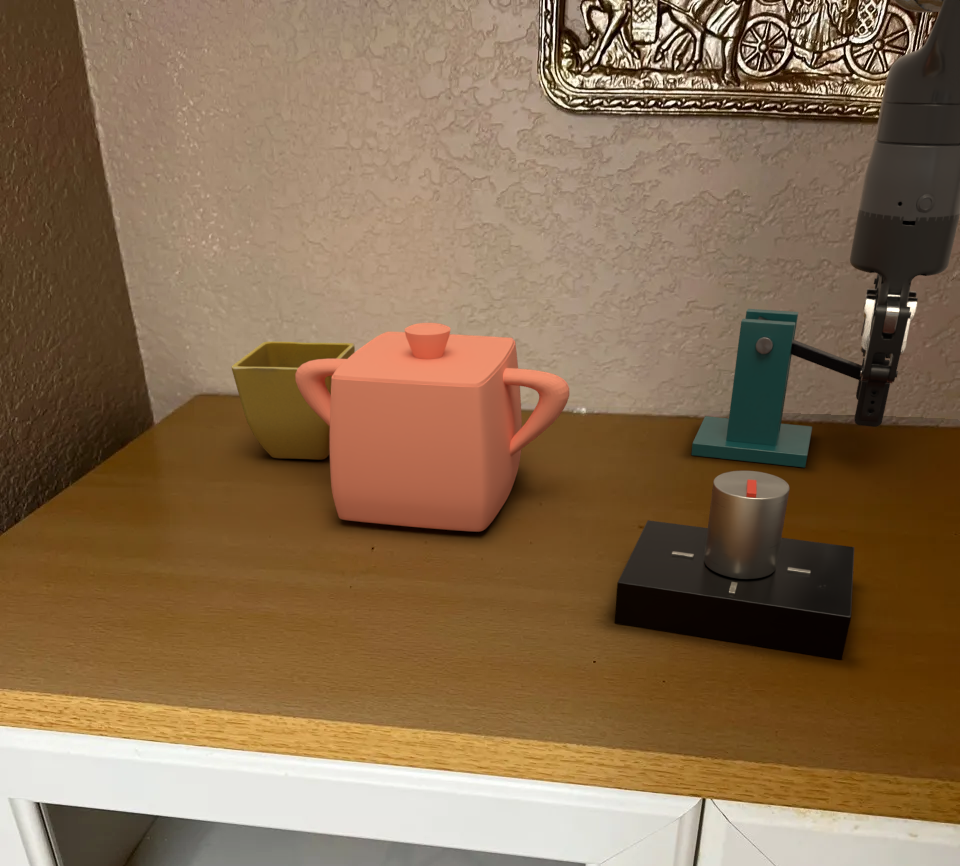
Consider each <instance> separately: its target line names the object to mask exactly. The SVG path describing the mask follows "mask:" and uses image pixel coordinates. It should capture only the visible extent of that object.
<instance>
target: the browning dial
mask: <svg viewBox="0 0 960 866" xmlns="http://www.w3.org/2000/svg"><path fill="white" fill-rule="evenodd" d="M711 490H712V491H711V499H710V507H709V514H708V515H709V516H708V523H707V528H708V530H707V538H706V546H705V554H704V562H705V564H706V566H707V567H708V568H709V569H711V570H712V571H714V572H716V573H718V574H721V575H724V576H727V577H732V578H738V579H757V578H762V577H766V576H768V575H770V574H772V573H773V572H774V571H775V570H776V567H777V561H778V555H779V549H780V543H781V538H783V537H782V536H783V532H784V531H783V530H784V524H785V517H786V512H787V507H788V500H789V493H790V485H789V483H788V482H787V481H786V480H784V479H783V478H782V477H779V476H777V475H774V474H770V473H767V472H762V471H756V470H755V471H754V470H733V471H726V472H723V473H721V474H719V475H716V476H715V478H714V479H713V482H712V489H711Z"/></svg>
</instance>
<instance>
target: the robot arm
mask: <svg viewBox="0 0 960 866" xmlns="http://www.w3.org/2000/svg"><path fill="white" fill-rule="evenodd" d="M893 1H894V2H895V3H896V4H897V5H898V6H899V7H900V8H902V9H904V10H906V11H910V12H913V13H938V15H937V17H936V20H935V22H934V24H933V27H932V29H931V31H930V32H929V36H928V37H927V39H926V42H925V43H924V44H923V46H922V47H920V48H918V49H917V50H914V51H912V52H908V53H906V54H904V55H901V56H900V57H899V58H898V59H896V60H895V61H894V62H893V63H892V65H891V66H890V68H889V71H888V72H887V76H886V80H885V84H884V89H883V92H882V98H881V103H880V108H879V114H878V120H877V125H876V131H875V136H874V140H875V141H874V142H873V147H872V149H871V154H870V157H869V159H868V164H867V166H866V171H865V174H864V178H863V184H862V189H861V190H862V191H861V194H860V195H861V196H860V201H859V207H858V211H857V217H856V223H855V228H854V234H853V239H852V246H851V251H850V257H849V262H850V265H851V266H852V267H853V268H854V269H855V270H858V271H860V272H864V273H868V274H876V277H875V278H874V280H873V285H874V288H867V287H866V291H865V297H864V303H863V313H862V316H863V321H862V326H861V333H860V336H861V342H860V348H859V349H860V352H861V353H862V354H861V355H862V361H861V365H862V366H863V368H862V370H861V373H860V376H862V377H861V381H860V380H858V383H857V387H856V392H855V398H856V400H857V403H856V409H855V413H854V423H855V424H856V426H863V427H871V428H877V427H879V426H881V425H882V423H883V419H884V415H885V411H886V406H887V400H888V396H889V391H890V387H891V384H893V383H894V382H895V381H896V380H895V379H896V378H898V374H899V371H898V366H899V362H900V358H901V356H902V355H903V354H904V352H905V350H906V348H907V344H908V343H907V342H908V337H909V331H910V326H911V321H912V320H913V319H914V317H915V316H916V312H917V307H918V301H919V299H918V297H917V294H918V292H917V290H911V285H912V281H913V280H914V279H915V277H918V276H921V277H929V276H935V275H939V274H942V273H943V272H944V271H946V269H947V268H948V267H949V264H950V259H951V257H952V251H953V247H954V242H955V238H956V234H957V229H958V225H959V221H960V0H893ZM875 362H881V363H883V364H884V365H875V364H873V363H875Z"/></svg>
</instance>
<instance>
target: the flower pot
mask: <svg viewBox="0 0 960 866" xmlns="http://www.w3.org/2000/svg"><path fill="white" fill-rule="evenodd" d="M355 347H356V346H355V344H354V343H352V342H298V341H264V342H261V343H260V344H259V345H257V346H256V347H255V348H254V349H252V350H251V351H250V352H248V353H247V354H246V355H244V356H243V357H241V358H240V359H239V360H238V361H236V362H235V363H233V365H231V367H230V368H231V372H232V376H233V379H234V382H235V385H236V389H237V393H238V396H239V400H240V403H241V408H242V410H243V414H244V417H245V420H246V422H247V424H248V427H249V429H250V431H251V433H252V434H253V436H254V438H255V439H256V441H257V442H258V443H259V444H260V446H261V447H262V448H263V449H264V451H266V453H267V454H268V455H269V456H270V457H272V458H273V459H290V460H291V459H297V460H318V461H319V460H325V459H327V458H328V457H329V456H330V426H329V425H328V424H327V423H326V422H325V421H324V420H323V419H322V418H321V417H320V416H318V414H317V413H316V412H315V411H314V410H313V409H312V408H311V407H310V406H309V405H308V403H307V402H306V401H305V399H304V398H303V396H302V394H301V392H300V391H299V389H298V386H297V383H296V377H295V374H296V371H297V369H298V368H299V367H300V366H301V365H302V364H304V363H306V362H308V361H312V360H317V359H348V358H349V357H350V356H351V355H352V354H353V353H355V352H356V350H355ZM331 380H332V375H331V376H328V377H326V378H325V384H326V387H327V389H328V391H329V393H330V394H331Z"/></svg>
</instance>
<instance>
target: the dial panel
mask: <svg viewBox="0 0 960 866" xmlns="http://www.w3.org/2000/svg"><path fill="white" fill-rule="evenodd" d="M707 530H708V527H703V526H696V525H687V524H679V523H672V522H664V521H656V520H650V519H649V520H647V521H646V523H645V524H644V527H643V529H642V531H641V533H640V535H639V537H638V539H637V541H636V544H635V546H634V547H633V550H632V552H631V554H630V556H629V558H628V560H627V561H626V564H625V566H624V568H623V570H622V572H621V574H620V576H619V578H618V580H617V585H616V598H615V610H614V611H615V612H614V623H615V624H619V625H625V626H632V627H637V628H644V629H651V630H656V631H662V632H669V633H674V634H679V635H686V636H693V637H698V638H704V639H705V638H706V639H711V640H717V641H718V640H719V641H724V642H730V643H736V644H742V645H747V646H748V645H750V646H756V647H761V648H766V649H773V650H779V651H786V652H792V653H797V654H799V653H800V654H803V655H804V654H805V655H811V656H816V657H817V656H818V657H822V658H829V659H835V660H843V656H844V652H845V648H846V643H847V637H848V634H849V628H850V625H851V619H852V609H853V608H852V607H853V606H852V604H853V587H854V586H853V583H854V567H855V565H854V564H855V546H849V545H842V544H841V545H840V544H832V543H827V542H826V543H825V542H819V541H818V542H817V541H810V540H803V539H795V538H787V537H781V543H780V549H779V555H778V561H777V567H776V570H775V571H774V572H773V573H772V574H770V575H768V576H766V577H762V578H757V579H738V578H732V577H727V576H724V575H721V574H718V573H716V572H714V571H712V570H711V569H709V568H708V567H707V566H706V564H705V562H704V554H705V546H706V538H707Z"/></svg>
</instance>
